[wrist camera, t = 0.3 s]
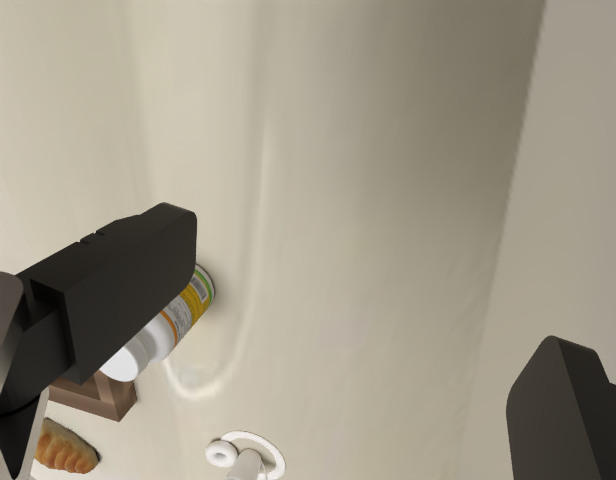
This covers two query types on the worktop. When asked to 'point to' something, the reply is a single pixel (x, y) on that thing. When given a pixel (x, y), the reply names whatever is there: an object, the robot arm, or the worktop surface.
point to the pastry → (64, 449)
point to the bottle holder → (95, 395)
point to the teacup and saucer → (243, 458)
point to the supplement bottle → (162, 330)
